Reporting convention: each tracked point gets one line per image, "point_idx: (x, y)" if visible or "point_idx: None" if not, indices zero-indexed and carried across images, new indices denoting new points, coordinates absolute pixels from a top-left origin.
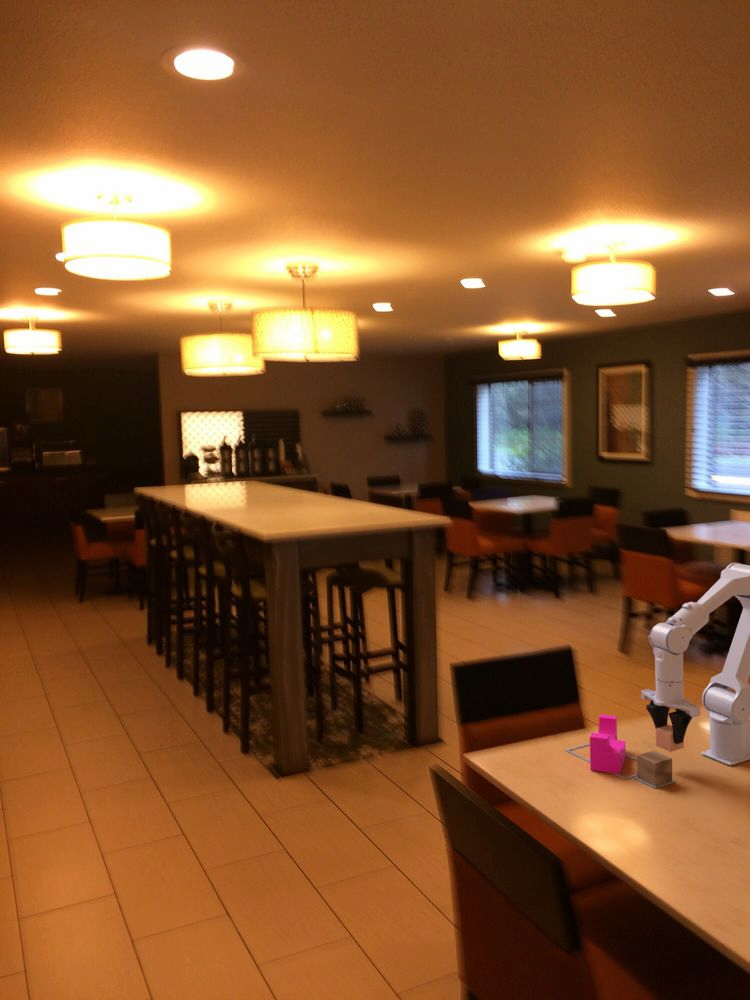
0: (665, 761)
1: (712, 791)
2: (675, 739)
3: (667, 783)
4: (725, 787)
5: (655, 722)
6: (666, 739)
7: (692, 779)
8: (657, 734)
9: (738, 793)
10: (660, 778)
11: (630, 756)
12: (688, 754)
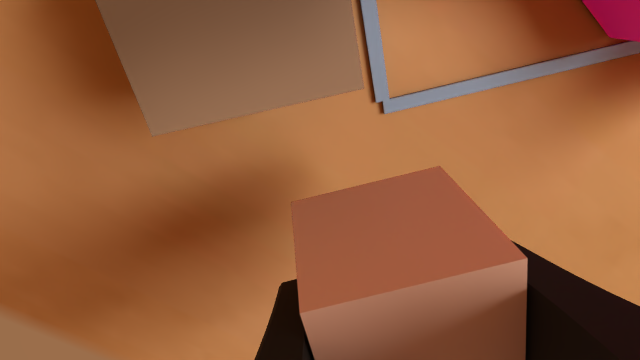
0: (119, 47)
1: (41, 215)
2: (279, 306)
3: None
4: (83, 288)
5: (603, 317)
6: (347, 244)
7: (203, 205)
8: (472, 225)
9: (9, 303)
10: None
11: (586, 61)
12: None
